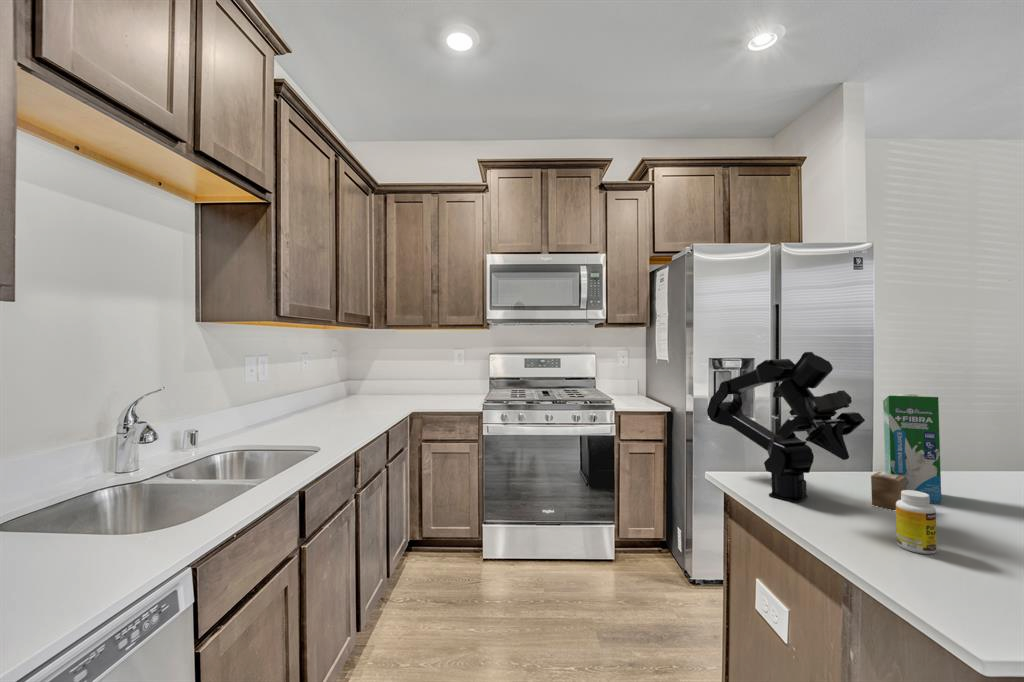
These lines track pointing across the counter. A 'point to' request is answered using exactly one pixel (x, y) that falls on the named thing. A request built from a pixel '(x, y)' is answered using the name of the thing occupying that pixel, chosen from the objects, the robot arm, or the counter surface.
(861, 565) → the counter surface
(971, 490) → the counter surface
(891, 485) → the brown rectangular block
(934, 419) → the milk carton
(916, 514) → the supplement bottle
